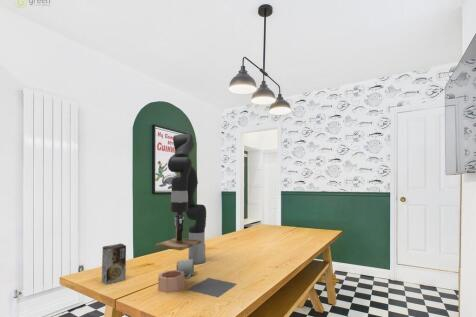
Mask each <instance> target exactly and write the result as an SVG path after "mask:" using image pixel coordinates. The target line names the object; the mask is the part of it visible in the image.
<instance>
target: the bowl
mask: <svg viewBox="0 0 476 317" xmlns="http://www.w3.org/2000/svg"><path fill="white" fill-rule="evenodd" d="M157 277H158V281H157V282H158V284H157V285H158V286H157V291H158V292H162V293H166V294H167V293H174V292H179V291H181V290H183V289H184V288H185V279H184V278H185V276H184V271H179V270H177V269H172V270H165V271H162V272H159V273H158V276H157Z"/></svg>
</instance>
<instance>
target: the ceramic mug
mask: <svg viewBox="0 0 476 317" xmlns="http://www.w3.org/2000/svg"><path fill="white" fill-rule="evenodd" d="M194 265H195V264H194V262H193V259H191V260H189V259H186V260H185V259H184V260H179V261H177V262H176V270H179V271H184V280H188V279H190V278H191V277H193V276H194V273H195V266H194Z"/></svg>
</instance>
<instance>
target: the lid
mask: <svg viewBox="0 0 476 317" xmlns="http://www.w3.org/2000/svg"><path fill="white" fill-rule="evenodd" d="M178 229H180V228H178ZM176 230H177V228H175V238H170V239H167V240H165V241H161V242H157V243H155V248H163V249H168V250H174V251H175V250H176V251H185V250H187V249H189V248H190V247H192V246H195V245H198V244H201V241H199V240H191V239H189V238H183V237H182V240H181V241H177V231H176Z"/></svg>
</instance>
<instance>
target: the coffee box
mask: <svg viewBox="0 0 476 317" xmlns="http://www.w3.org/2000/svg"><path fill="white" fill-rule="evenodd" d="M101 260H102V263H101V282H102V283H104V285H110V284H113V283H116V282H120V281H124V280H126V276H127V275H126V273H127V268H126V266H127V262H126V261H127V245H125V244H124V243H118V244H116V243H115V244H110V245H105V246H102V258H101Z"/></svg>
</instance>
